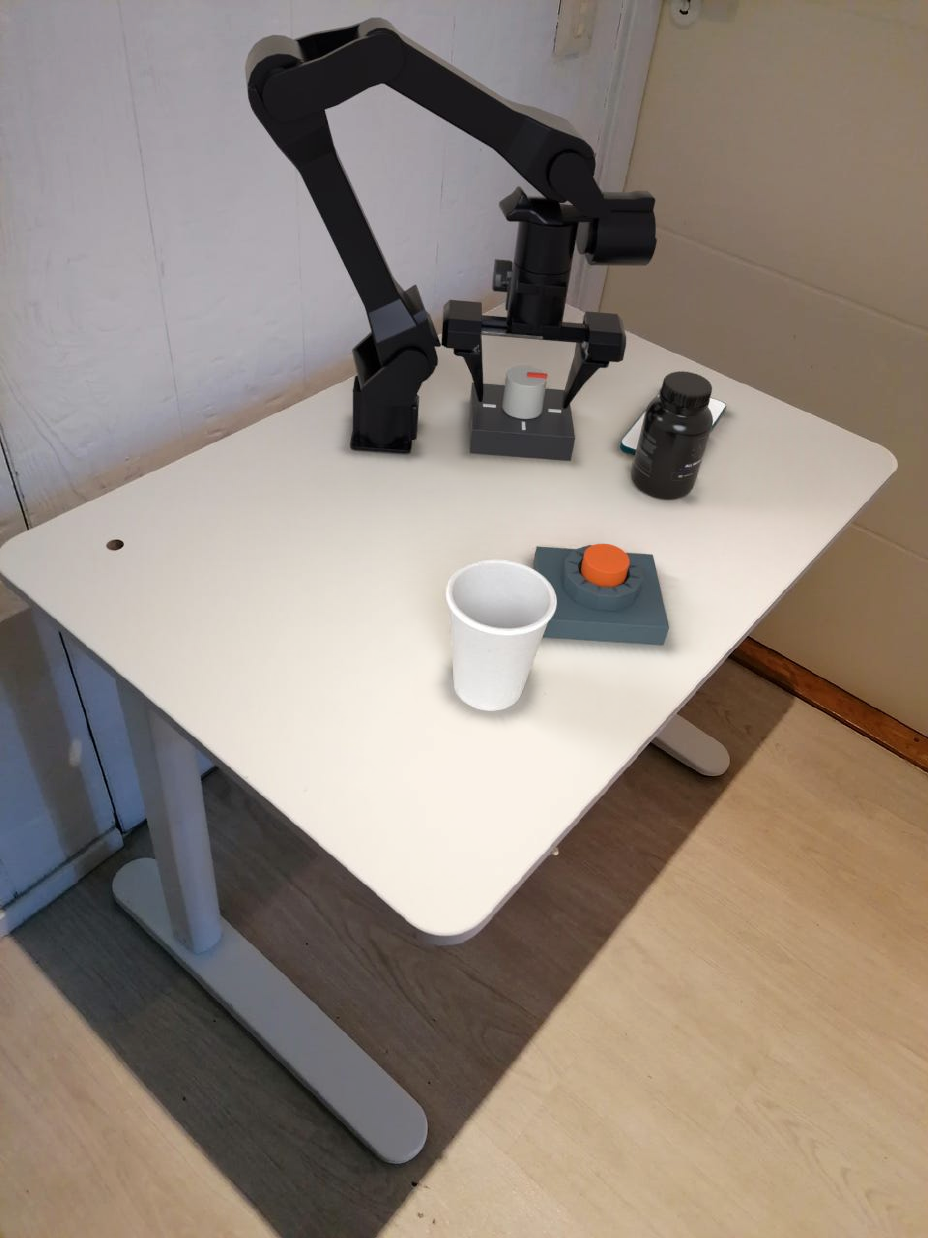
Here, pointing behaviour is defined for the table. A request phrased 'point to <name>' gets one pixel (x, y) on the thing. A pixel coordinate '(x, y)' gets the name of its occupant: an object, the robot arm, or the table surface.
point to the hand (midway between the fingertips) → (522, 403)
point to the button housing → (603, 600)
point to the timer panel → (520, 427)
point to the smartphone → (632, 436)
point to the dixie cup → (496, 629)
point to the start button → (605, 565)
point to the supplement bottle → (673, 437)
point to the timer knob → (524, 392)
